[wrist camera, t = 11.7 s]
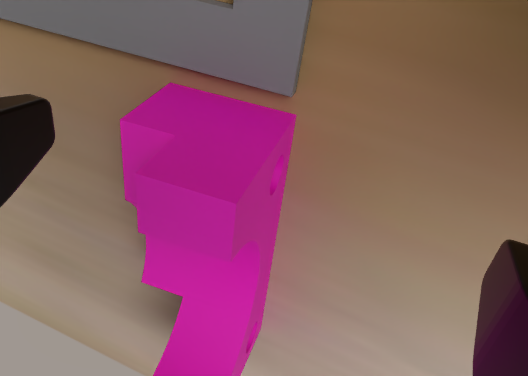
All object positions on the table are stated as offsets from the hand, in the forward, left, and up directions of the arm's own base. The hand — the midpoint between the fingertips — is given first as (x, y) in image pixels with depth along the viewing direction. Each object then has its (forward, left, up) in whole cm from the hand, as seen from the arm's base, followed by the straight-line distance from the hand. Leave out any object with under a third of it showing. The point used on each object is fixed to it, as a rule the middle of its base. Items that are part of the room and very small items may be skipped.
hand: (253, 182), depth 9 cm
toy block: (+5, +12, -12) cm, 18 cm away
